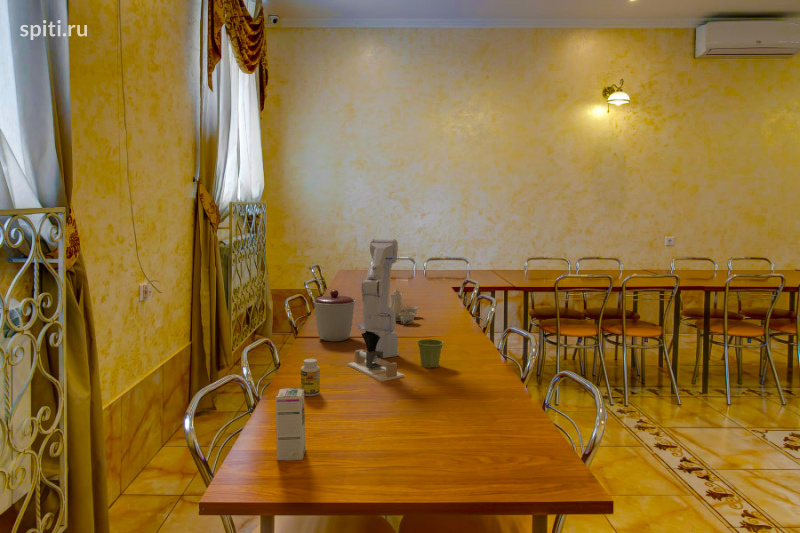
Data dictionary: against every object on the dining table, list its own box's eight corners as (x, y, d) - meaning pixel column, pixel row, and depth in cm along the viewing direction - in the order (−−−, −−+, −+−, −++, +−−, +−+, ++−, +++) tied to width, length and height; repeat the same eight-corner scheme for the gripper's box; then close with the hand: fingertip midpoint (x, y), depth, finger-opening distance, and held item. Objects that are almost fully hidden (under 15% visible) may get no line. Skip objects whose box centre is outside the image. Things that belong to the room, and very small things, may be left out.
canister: (344, 345, 228) (345, 294, 225) (305, 341, 233) (304, 291, 231) (362, 336, 245) (362, 288, 243) (324, 333, 250) (324, 286, 248)
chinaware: (417, 329, 268) (421, 295, 266) (382, 325, 268) (386, 291, 266) (416, 318, 296) (420, 287, 294) (385, 314, 296) (389, 283, 294)
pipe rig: (347, 365, 198) (347, 351, 198) (369, 361, 203) (369, 348, 203) (381, 381, 180) (381, 365, 180) (404, 376, 185) (404, 361, 185)
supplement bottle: (297, 395, 165) (297, 361, 164) (306, 390, 171) (306, 357, 170) (314, 397, 164) (314, 363, 163) (322, 392, 169) (322, 358, 168)
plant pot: (447, 364, 201) (447, 340, 201) (437, 371, 193) (438, 346, 192) (422, 361, 205) (423, 337, 204) (412, 367, 197) (413, 343, 196)
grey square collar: (366, 367, 191) (366, 352, 191) (379, 364, 194) (379, 350, 194) (369, 368, 189) (370, 353, 189) (382, 366, 192) (382, 351, 192)
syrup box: (303, 460, 123) (302, 395, 121) (275, 461, 122) (275, 396, 121) (305, 449, 128) (305, 387, 127) (279, 449, 128) (278, 388, 126)
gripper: (350, 312, 196) (350, 350, 197) (372, 319, 184) (372, 359, 185) (368, 310, 200) (367, 347, 201) (390, 317, 188) (390, 356, 189)
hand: (371, 353), depth 193 cm, fingers closed
